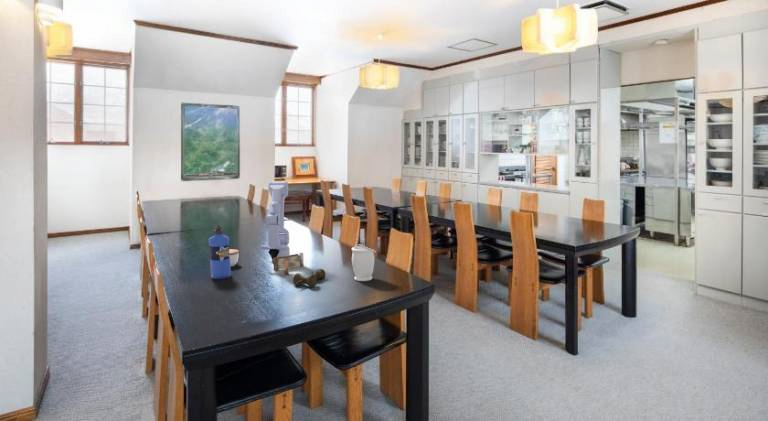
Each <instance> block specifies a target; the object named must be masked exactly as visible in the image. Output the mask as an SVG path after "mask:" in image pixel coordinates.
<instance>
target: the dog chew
mask: <svg viewBox="0 0 768 421" xmlns="http://www.w3.org/2000/svg"><path fill="white" fill-rule="evenodd" d="M325 278H326V271H325V269H323V268H318V269H317V270H315V271H313V272H312V273H311V274H310V275H308V276H304V275H302V274H301V273H298V272H297V273H295V274H294V275H293V277H292V283H293V285H294V286H300V285H302V284H303V285H307V286H308V287H309V288H314V287H316V285H317V281H318V280H324V279H325Z"/></svg>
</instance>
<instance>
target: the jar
mask: <svg viewBox="0 0 768 421" xmlns="http://www.w3.org/2000/svg"><path fill="white" fill-rule="evenodd" d="M351 251H352V254H351V264H352V271H353V274H354V280H355V281H357V282H358V281H359V282H368V281H371V280H372V279H373V276H372V275H373V274H374V268H375V254H374V253H375V252H374V251H373V250H370V249H367V248H365V247H364V246H362V245H357V246H353V247H351Z"/></svg>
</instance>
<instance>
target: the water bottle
mask: <svg viewBox="0 0 768 421" xmlns="http://www.w3.org/2000/svg"><path fill="white" fill-rule="evenodd" d="M213 229H214V230H213V234H214V235H213V236H211V237H209V238H208V246H209V252H210V259H209V261H210V262H209V264H210V278H211V279H213V280H221V279H222V280H223V279H227V278H230V277H232V272H231V271H232V270H231V269H232V267H230V256H229V249H230V237H229V236H228V235H226V234H224V230H223V227H222V226H221V225H219V224H218V225H217V224H216V225H215V227H214V228H213Z"/></svg>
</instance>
